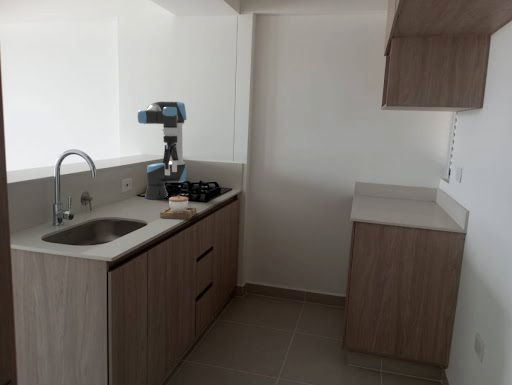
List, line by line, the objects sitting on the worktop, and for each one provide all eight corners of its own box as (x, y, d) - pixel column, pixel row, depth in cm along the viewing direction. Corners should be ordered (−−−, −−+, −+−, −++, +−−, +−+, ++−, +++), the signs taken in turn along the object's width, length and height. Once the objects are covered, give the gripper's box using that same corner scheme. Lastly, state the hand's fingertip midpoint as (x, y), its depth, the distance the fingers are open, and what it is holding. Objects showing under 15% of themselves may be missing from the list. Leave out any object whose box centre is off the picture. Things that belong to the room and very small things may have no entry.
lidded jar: (173, 214, 231) (173, 197, 229) (166, 210, 240) (166, 194, 238) (191, 212, 236) (191, 196, 235) (184, 209, 245) (183, 193, 244)
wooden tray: (169, 211, 247) (169, 206, 247) (196, 212, 245) (196, 208, 245) (160, 217, 231) (160, 212, 231) (188, 219, 230) (188, 214, 229)
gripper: (170, 134, 246) (171, 170, 250) (156, 136, 222) (157, 176, 226) (183, 134, 246) (183, 170, 250) (170, 136, 221) (171, 176, 225)
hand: (171, 173), depth 238 cm, fingers open, 13 cm apart
